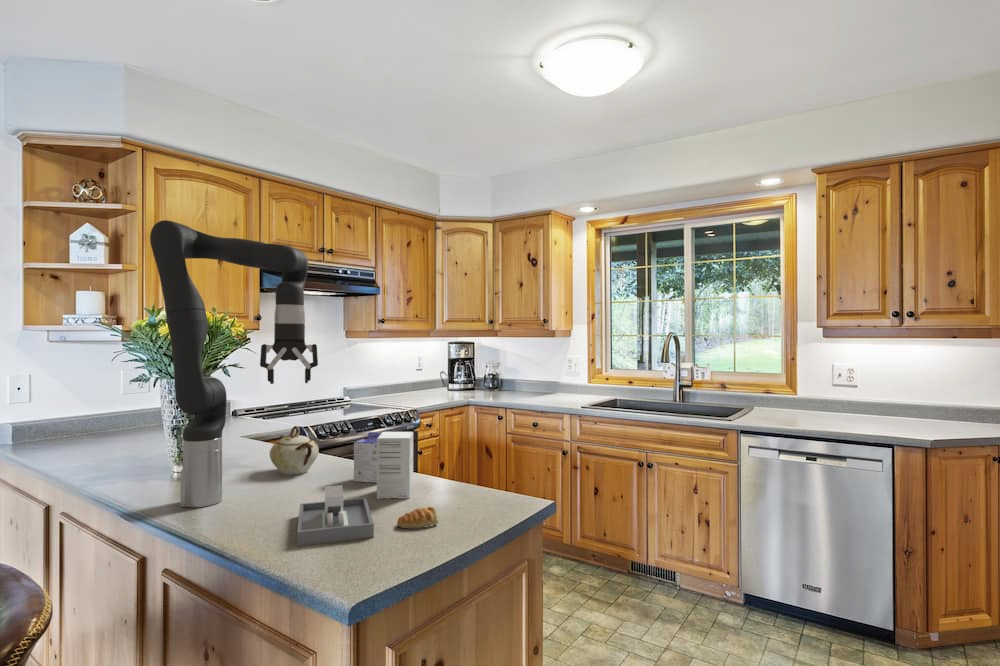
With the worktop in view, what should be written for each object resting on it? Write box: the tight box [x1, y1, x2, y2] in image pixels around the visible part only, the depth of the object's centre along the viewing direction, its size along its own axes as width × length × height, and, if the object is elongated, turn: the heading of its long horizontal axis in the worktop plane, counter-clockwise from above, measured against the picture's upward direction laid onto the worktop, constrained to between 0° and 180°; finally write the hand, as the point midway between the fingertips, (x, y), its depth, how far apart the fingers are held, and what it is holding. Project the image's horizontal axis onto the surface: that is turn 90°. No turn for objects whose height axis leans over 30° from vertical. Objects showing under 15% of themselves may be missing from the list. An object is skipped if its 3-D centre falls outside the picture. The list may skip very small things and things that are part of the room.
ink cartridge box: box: [353, 431, 380, 484], centre depth 166 cm, size 10×6×14 cm, turn 78°
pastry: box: [396, 506, 439, 529], centre depth 129 cm, size 9×7×4 cm
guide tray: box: [296, 497, 375, 547], centre depth 128 cm, size 16×20×5 cm
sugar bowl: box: [269, 425, 320, 476], centre depth 176 cm, size 20×15×15 cm
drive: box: [324, 484, 344, 526], centre depth 127 cm, size 4×9×6 cm, turn 18°
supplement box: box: [376, 431, 414, 500], centre depth 153 cm, size 10×9×17 cm
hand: (289, 383), depth 144 cm, fingers open, 8 cm apart
